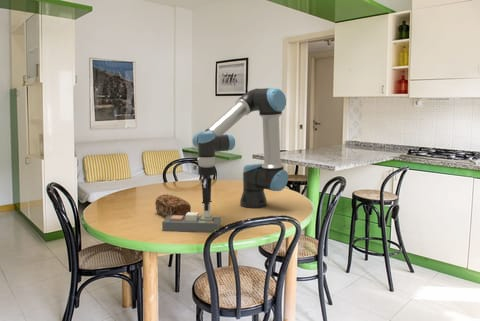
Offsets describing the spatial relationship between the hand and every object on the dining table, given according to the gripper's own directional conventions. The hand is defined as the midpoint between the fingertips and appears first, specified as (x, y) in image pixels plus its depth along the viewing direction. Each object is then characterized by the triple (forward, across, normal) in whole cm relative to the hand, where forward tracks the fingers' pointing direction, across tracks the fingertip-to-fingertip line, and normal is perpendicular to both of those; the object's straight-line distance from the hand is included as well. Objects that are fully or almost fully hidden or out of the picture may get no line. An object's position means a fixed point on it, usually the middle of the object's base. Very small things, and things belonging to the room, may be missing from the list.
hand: (206, 216), depth 185 cm
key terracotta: (+4, 0, -14) cm, 14 cm away
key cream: (+2, 0, -7) cm, 7 cm away
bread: (+6, -19, -21) cm, 29 cm away
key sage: (+4, 0, 0) cm, 4 cm away
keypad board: (+6, 0, -7) cm, 9 cm away
